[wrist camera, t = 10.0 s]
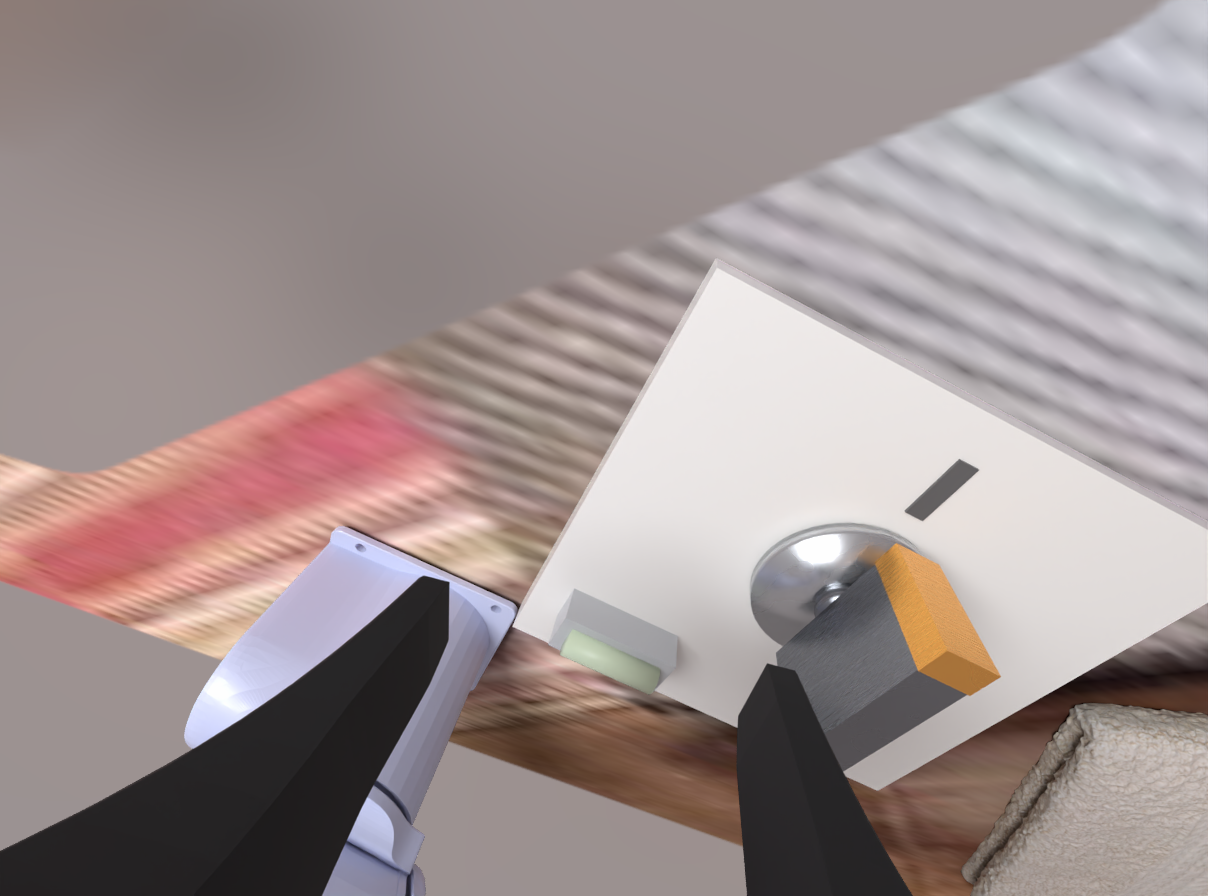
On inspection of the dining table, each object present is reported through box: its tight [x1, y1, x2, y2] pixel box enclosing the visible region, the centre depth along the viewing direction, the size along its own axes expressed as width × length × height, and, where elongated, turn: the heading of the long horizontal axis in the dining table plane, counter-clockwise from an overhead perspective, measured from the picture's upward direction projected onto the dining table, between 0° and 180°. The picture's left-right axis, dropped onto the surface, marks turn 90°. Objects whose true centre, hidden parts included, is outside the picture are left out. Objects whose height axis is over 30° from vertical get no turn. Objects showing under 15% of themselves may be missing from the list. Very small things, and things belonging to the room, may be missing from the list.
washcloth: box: [961, 703, 1208, 896], centre depth 25 cm, size 12×18×3 cm, turn 3°
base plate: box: [512, 258, 1208, 791], centre depth 20 cm, size 20×18×4 cm
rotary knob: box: [750, 523, 1001, 772], centre depth 17 cm, size 7×6×5 cm
